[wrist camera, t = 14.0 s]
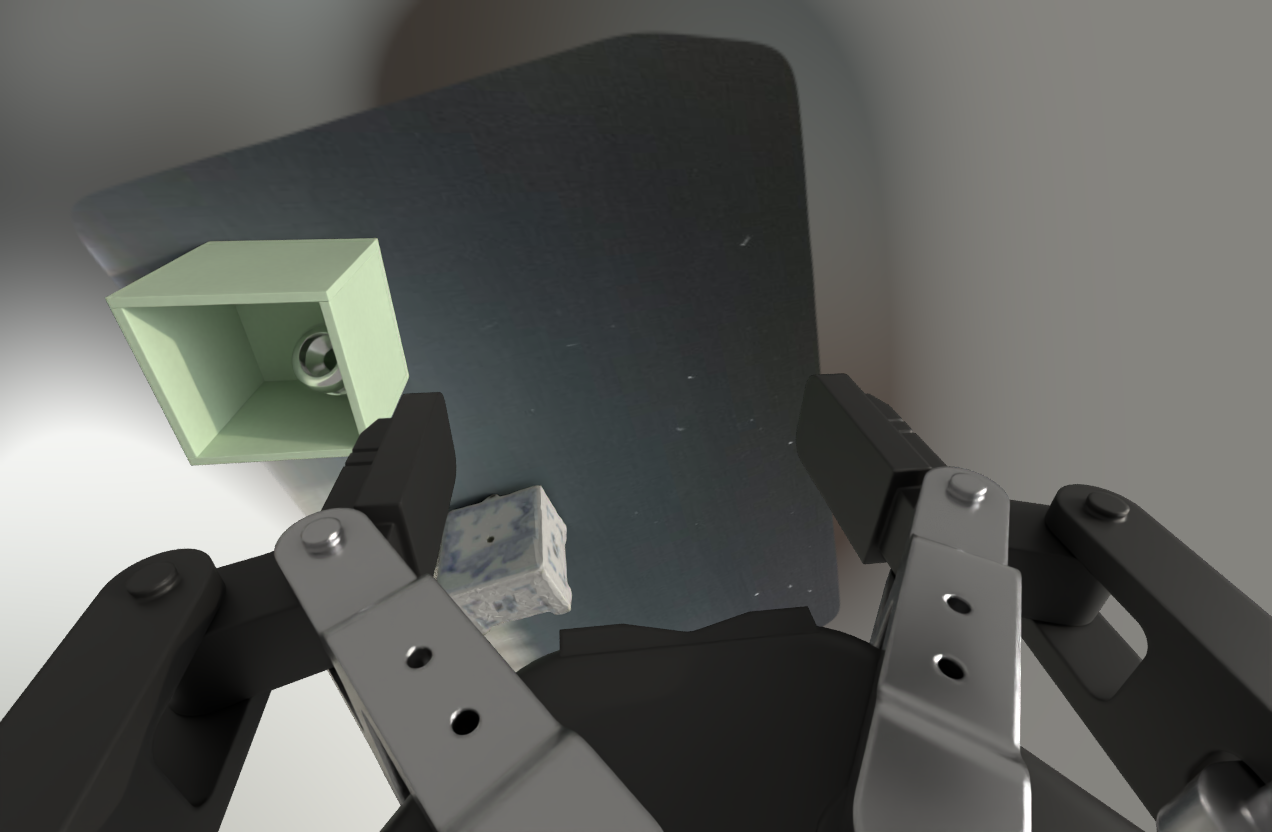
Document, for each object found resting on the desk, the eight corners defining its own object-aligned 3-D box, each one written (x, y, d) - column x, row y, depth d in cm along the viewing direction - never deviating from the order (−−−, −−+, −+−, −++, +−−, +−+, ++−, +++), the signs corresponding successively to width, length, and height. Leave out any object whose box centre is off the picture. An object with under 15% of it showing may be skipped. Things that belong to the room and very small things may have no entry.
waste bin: (208, 241, 39) (104, 297, 30) (377, 237, 40) (326, 291, 31) (263, 383, 45) (190, 466, 36) (409, 376, 46) (374, 455, 37)
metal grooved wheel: (306, 360, 43) (339, 411, 42) (275, 350, 40) (309, 405, 39) (356, 318, 42) (390, 368, 41) (328, 305, 40) (364, 359, 38)
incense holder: (481, 561, 58) (468, 650, 50) (444, 504, 54) (423, 591, 45) (572, 534, 58) (575, 620, 49) (542, 474, 53) (539, 557, 45)
